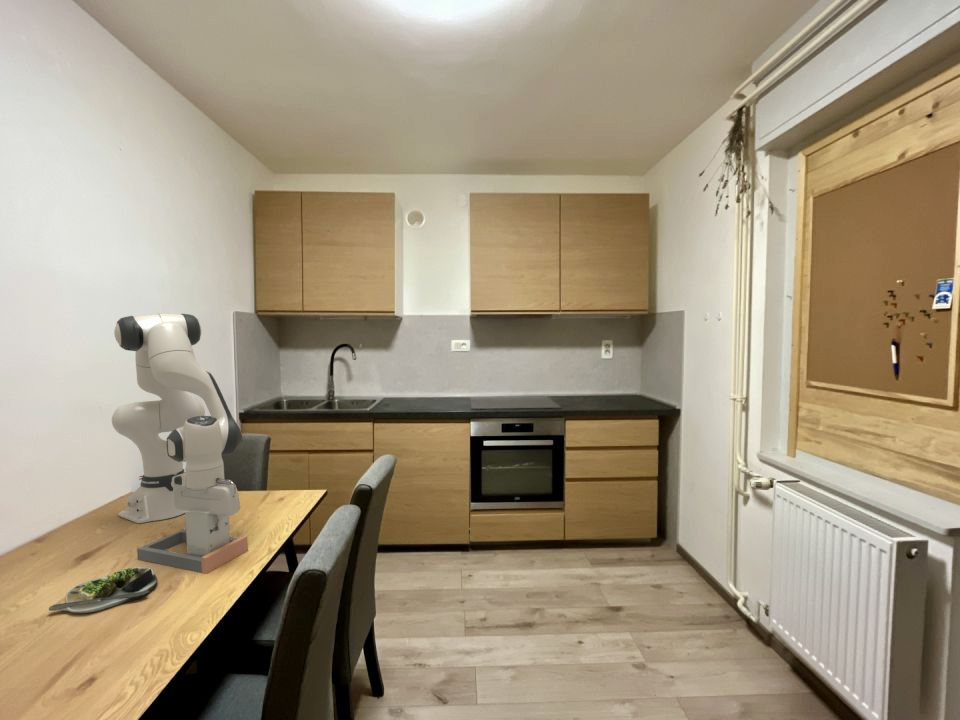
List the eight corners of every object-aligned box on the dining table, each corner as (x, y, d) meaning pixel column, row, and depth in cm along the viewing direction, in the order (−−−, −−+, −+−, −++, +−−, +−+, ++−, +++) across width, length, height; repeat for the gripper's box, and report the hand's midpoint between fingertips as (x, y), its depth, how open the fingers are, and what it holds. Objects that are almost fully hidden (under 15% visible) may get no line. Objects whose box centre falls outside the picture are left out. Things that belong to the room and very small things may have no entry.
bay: (137, 559, 124) (136, 545, 124) (183, 539, 136) (182, 526, 136) (206, 573, 116) (205, 558, 116) (248, 550, 128) (247, 536, 128)
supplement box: (209, 560, 119) (206, 513, 119) (186, 558, 121) (183, 511, 121) (231, 548, 126) (229, 503, 126) (209, 545, 128) (207, 501, 128)
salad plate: (48, 633, 94) (47, 612, 93) (49, 598, 107) (47, 579, 106) (162, 595, 107) (161, 576, 107) (150, 568, 120) (149, 551, 120)
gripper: (244, 476, 122) (247, 527, 123) (188, 470, 129) (191, 518, 130) (224, 484, 116) (227, 537, 117) (167, 477, 123) (170, 527, 124)
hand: (208, 527), depth 124 cm, fingers open, 7 cm apart
